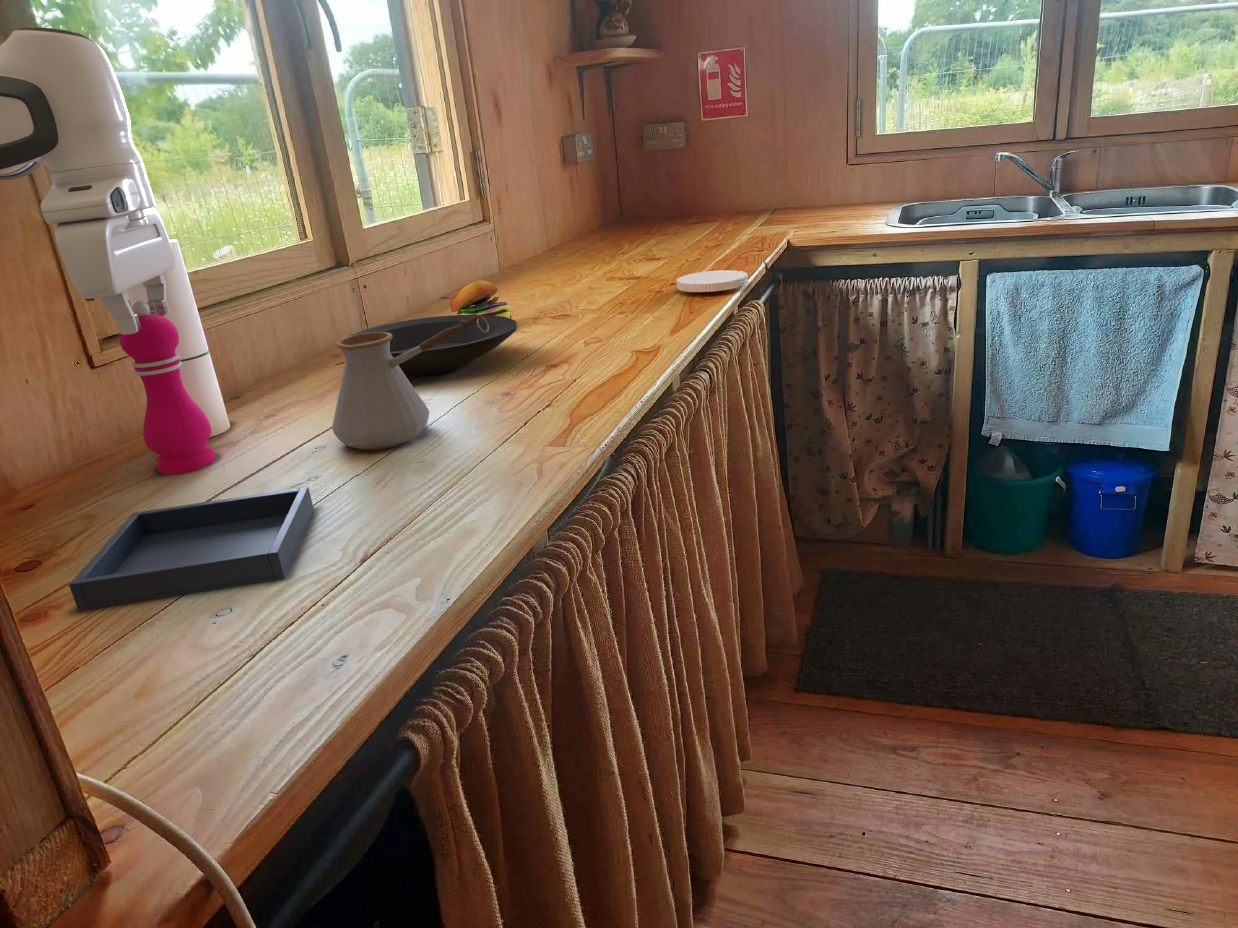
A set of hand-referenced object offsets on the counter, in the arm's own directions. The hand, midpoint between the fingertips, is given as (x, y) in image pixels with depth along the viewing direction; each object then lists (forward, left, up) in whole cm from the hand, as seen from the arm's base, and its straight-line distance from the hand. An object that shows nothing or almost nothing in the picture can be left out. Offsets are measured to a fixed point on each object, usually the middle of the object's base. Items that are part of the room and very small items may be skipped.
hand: (146, 324), depth 98 cm
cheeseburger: (+36, +56, -18) cm, 69 cm away
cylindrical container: (-2, +13, -18) cm, 22 cm away
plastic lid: (+81, +66, -18) cm, 106 cm away
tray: (+10, -28, -18) cm, 35 cm away
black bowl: (+28, +33, -18) cm, 47 cm away
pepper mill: (0, 0, -18) cm, 18 cm away
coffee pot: (+28, -3, -18) cm, 33 cm away
